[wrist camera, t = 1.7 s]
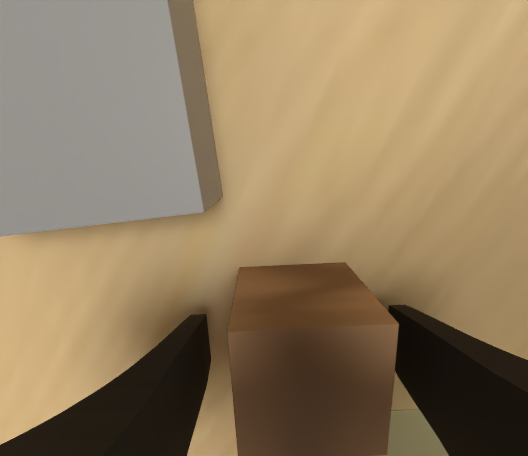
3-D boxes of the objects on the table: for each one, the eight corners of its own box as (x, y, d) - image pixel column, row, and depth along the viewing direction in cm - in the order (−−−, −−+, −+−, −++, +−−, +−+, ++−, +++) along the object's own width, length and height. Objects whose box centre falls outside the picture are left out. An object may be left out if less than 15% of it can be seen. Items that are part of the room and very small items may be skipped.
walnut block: (344, 261, 11) (398, 324, 7) (341, 351, 12) (387, 455, 8) (239, 266, 11) (227, 332, 7) (246, 356, 12) (238, 462, 8)
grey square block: (188, -41, 9) (131, -205, 5) (223, 195, 11) (203, 212, 7) (-46, -12, 9) (-284, -150, 5) (30, 218, 11) (-100, 248, 7)
